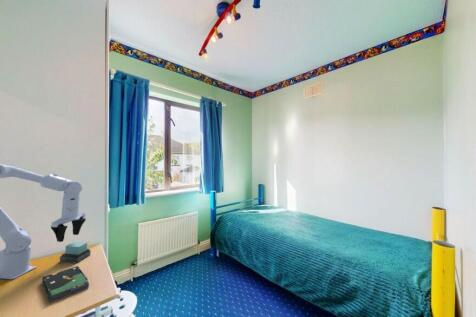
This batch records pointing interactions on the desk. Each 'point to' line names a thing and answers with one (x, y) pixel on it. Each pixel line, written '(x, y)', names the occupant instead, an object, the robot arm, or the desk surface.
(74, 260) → the stand
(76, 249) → the block
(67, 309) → the desk surface
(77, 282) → the disk drive
